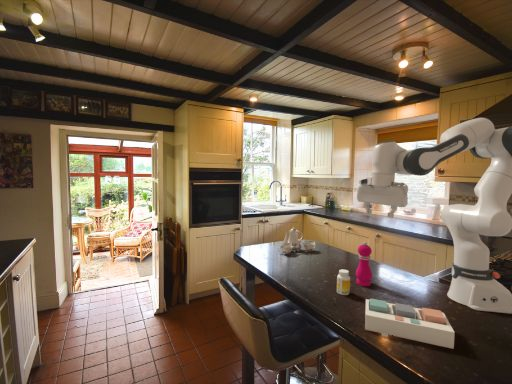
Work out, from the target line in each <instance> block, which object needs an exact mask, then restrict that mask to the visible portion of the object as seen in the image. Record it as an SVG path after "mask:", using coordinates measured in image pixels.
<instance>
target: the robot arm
mask: <svg viewBox="0 0 512 384" xmlns="http://www.w3.org/2000/svg"><path fill="white" fill-rule="evenodd" d="M466 151H470V153H471V155H472V156H473V157H475V158H477V159H486V160H487V159H491V161H490V165H489V166H488V167H487V168H486V170H485V172H484V173H483V174H482V175H481V177H480V179H479V180H478V182H477V183H476V185H475V187H474V188H473V192H474V195H475V196H476V197H477V198H478V199H477V202H476V203H475V204H474V205H473V204H472V205H471V204H464V203H454V204H448V205H446V206H445V207H443V209H442V210H441V213H440V218H441V221H442V222H443V223H444V224H445V226H446V227H447V228H448V230H449V233H450V235H451V237H452V242H453V248H454V249H453V262H452V263H451V277H452V278H451V282H450V285H449V289H448V291H447V294H446V296H447V297H448V298H449V300H452V301H455V302H456V303H459V304H460V305H461V304H462V305H464V306H467V307H468V308H470V309H473V310H474V311H475V310H476V311H479V312H480V311H483V312H492V313H493V312H494V313H503V314H510V315H511V314H512V293H511V291H510V290H509V289H507V287H506V286H504V285H503V284H502V283H500V282H499V281H497V279H500V278H501V275H500V274H499V273H498V272H497V271H494V270H493V269H491V268H490V249H489V247H488V246H487V245H486V244H485V243H484V242H483V241H482V240H481V237H480V235H481V236H485V237H504V236H507V235H508V234H509V233H510V232H511V231H512V216H511V214H510V213H509V212H508V209H507V207H508V206H507V204H508V201H509V199H510V198H511V196H512V125H511V126H507V127H502V128H498V129H496V128H495V125H494V123H493V122H492V121H491V120H490V119H489V118H487V117H477V118H473V119H469V120H465V121H463V122H461V123H458V124H456V125H454V126H452V127H449V128H448V129H446V130H445V131H444V132H442V133H441V135H440V138H439V143H438V144H435V145H434V146H431V147H419V148H415V149H406V148H403V147H402V146H400V145H399V144H398V143H397V141H395V140H388V141H387V140H386V141H382V142H378V143H376V144H375V145H374V148H373V151H372V156H371V157H372V159H371V171H370V176H368V177H365V178H361V179H359V180H358V181H359V182H358V184H359V186H358V187H357V191H356V192H357V193H356V200H357V202H359V203H363V204H364V208H365V209H366V210H365V213H366V214H369V215H371V214H373V210H372V209H371V207H370V205H371V204H375V205H381V206H382V205H383V206H389V207H390V209H391V210H390V211H389V212H387V215H386V216H387V218H394V216H395V215H394V214H395V213H396V211H398V208H405V207H407V206H408V201H409V200H408V199H409V198H408V197H409V196H408V192H409V186H408V185H407V184H406V183H404V182H396V181H395V178H396V174H397V175H409V176H411V175H414V176H419V177H420V176H427V175H428V174H430V173H431V172H433V170H435V168H436V167H437V166H438V165H439V164H441V163H442V162H444V161H447V160H449V159H450V158H452V157H454V156H456V155H458V154H460V153H464V152H466Z"/></svg>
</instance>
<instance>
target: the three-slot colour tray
mask: <svg viewBox="0 0 512 384" xmlns="http://www.w3.org/2000/svg"><path fill="white" fill-rule="evenodd" d="M386 303H387V314H385V313H380V312H374V311H370V299H367V298H365V310H364V311H365V314H364V316H365V317H364V318H365V319H364V320H365V321H364V322H365V323H364V330H366V331H370V332H375V333H379V334H384V335H388V334H389V335H388V336H392V335H393V337H398V338H403V339H406V340H412V341H416V342H421V343H426V344H429V345H434V346H438V347H443V348H448V349H453V350H455V348H454V347H455V333H456V332H455V331H454V329H453V327H452V325H451V324H450V322H449V320H448V318H447V316H446V314H445V313H444V312H442V314H443V316H444V318H445V325H442V324H437V323H432V322H427V321H423V318H422V308H418V307H413V308H414V311H415V319H411V318H406V317H401V316H396V314H395V303H390V302H386Z"/></svg>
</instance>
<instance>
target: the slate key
mask: <svg viewBox="0 0 512 384" xmlns="http://www.w3.org/2000/svg"><path fill="white" fill-rule="evenodd" d="M394 304H395V314H396V316H401V317H406V318H411V319H415V311H414V308H415V307H414V306H413V305H411V304H410V305H409V304H404V303H398V302H394Z"/></svg>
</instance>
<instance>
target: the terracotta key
mask: <svg viewBox="0 0 512 384" xmlns="http://www.w3.org/2000/svg"><path fill="white" fill-rule="evenodd" d="M421 309H422V318H423V321H427V322H432V323H437V324H442V325H445V318H444V316H443V314H442V313H443V312H442V311H441V310H438V309H433V308H428V307H421Z"/></svg>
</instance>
